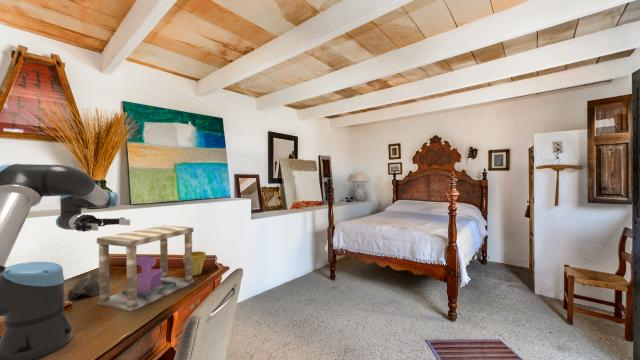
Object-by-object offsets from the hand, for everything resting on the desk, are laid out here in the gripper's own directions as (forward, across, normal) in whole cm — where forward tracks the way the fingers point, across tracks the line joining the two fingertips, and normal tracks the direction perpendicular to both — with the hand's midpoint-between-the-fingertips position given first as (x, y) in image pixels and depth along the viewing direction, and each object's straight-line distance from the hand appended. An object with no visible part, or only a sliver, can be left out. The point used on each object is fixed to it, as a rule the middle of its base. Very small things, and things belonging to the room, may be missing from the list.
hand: (114, 224), depth 122 cm
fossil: (-1, +11, -27) cm, 30 cm away
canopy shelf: (+22, 0, -27) cm, 35 cm away
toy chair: (+21, 0, -26) cm, 34 cm away
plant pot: (+22, -24, -27) cm, 42 cm away
